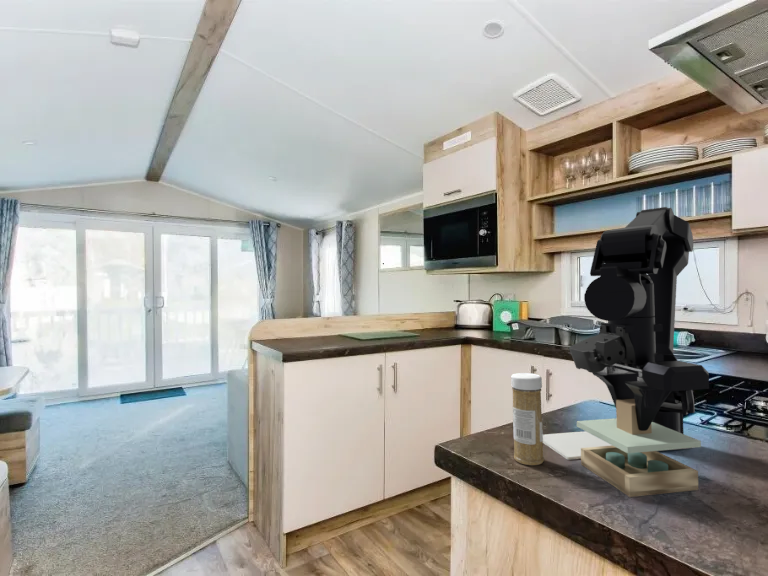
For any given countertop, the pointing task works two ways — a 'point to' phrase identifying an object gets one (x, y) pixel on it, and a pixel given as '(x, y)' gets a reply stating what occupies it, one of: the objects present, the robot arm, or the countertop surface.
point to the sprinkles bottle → (527, 418)
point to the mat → (572, 443)
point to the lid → (636, 432)
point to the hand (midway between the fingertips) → (633, 426)
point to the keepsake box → (639, 471)
